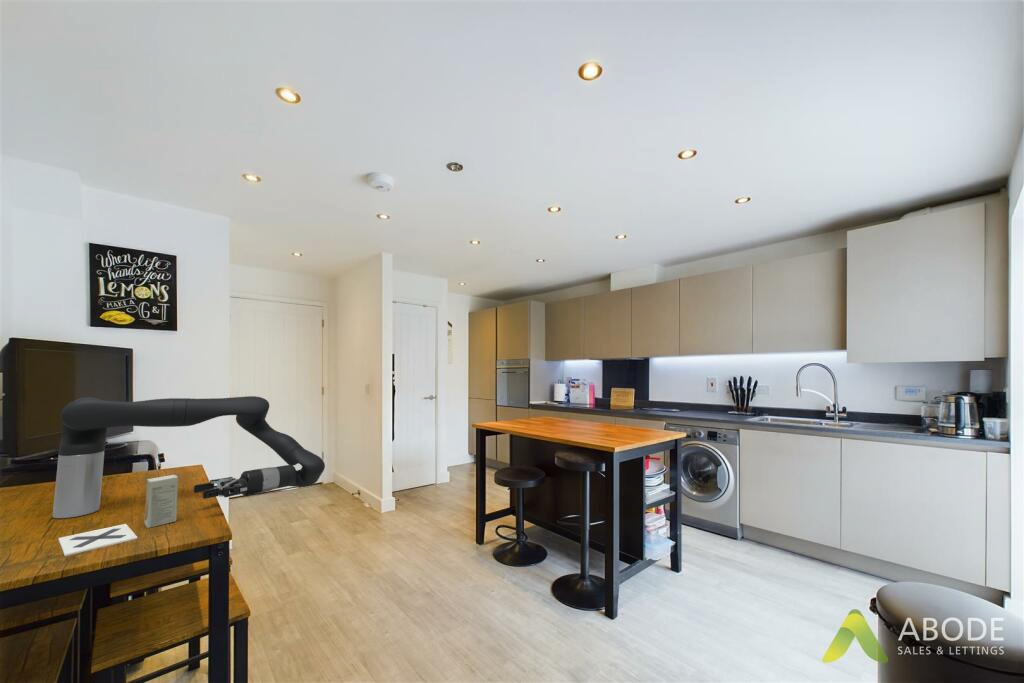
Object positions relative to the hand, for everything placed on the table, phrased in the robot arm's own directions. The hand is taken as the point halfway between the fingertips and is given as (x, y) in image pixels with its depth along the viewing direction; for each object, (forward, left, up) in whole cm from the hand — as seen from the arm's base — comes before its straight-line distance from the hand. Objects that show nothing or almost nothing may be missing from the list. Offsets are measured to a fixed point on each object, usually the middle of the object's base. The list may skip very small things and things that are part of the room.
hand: (198, 492), depth 116 cm
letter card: (+2, -20, -6) cm, 21 cm away
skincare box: (0, -8, -7) cm, 11 cm away
